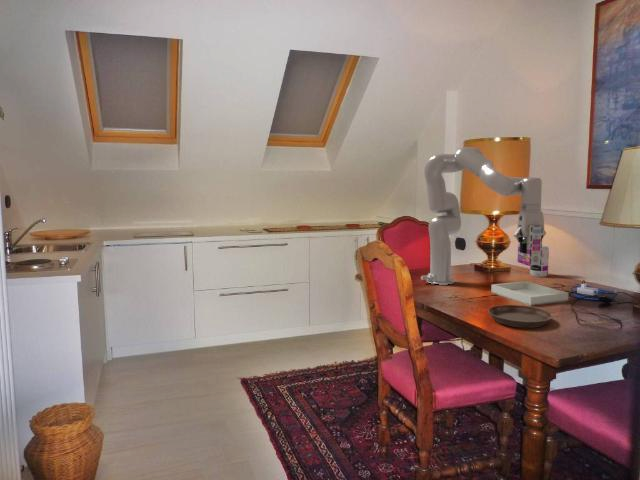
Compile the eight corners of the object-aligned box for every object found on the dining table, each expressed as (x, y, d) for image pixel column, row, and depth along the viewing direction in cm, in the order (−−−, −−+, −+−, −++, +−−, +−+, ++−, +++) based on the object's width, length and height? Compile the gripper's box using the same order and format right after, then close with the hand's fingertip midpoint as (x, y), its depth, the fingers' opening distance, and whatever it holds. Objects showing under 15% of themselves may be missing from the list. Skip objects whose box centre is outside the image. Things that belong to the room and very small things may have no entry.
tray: (530, 306, 197) (531, 297, 196) (491, 292, 219) (491, 284, 219) (567, 301, 202) (568, 292, 202) (525, 288, 225) (525, 280, 224)
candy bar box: (542, 266, 204) (543, 225, 201) (530, 266, 203) (531, 225, 201) (528, 261, 215) (529, 222, 213) (516, 261, 214) (517, 223, 212)
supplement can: (544, 274, 255) (545, 244, 253) (550, 277, 247) (551, 246, 245) (527, 274, 256) (528, 244, 254) (532, 277, 248) (533, 246, 246)
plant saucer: (553, 317, 182) (554, 308, 182) (549, 333, 164) (549, 323, 164) (493, 310, 192) (493, 302, 192) (483, 325, 174) (483, 316, 174)
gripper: (519, 209, 200) (518, 255, 202) (554, 207, 205) (553, 252, 207) (507, 208, 207) (505, 252, 209) (541, 206, 212) (539, 249, 215)
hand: (529, 251), depth 208 cm, fingers closed on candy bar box, 5 cm apart
